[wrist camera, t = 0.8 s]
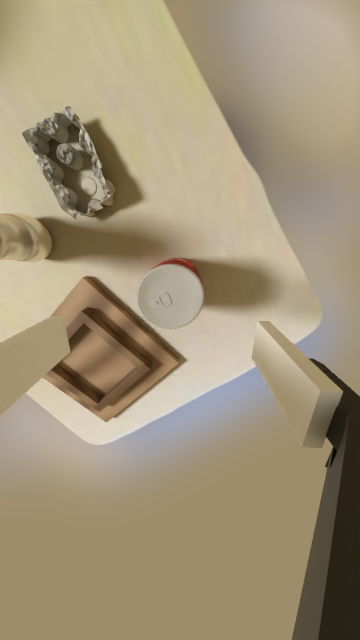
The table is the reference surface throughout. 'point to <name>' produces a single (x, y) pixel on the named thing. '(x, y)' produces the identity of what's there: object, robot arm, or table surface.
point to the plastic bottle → (23, 238)
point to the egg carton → (68, 161)
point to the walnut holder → (106, 353)
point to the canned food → (170, 294)
